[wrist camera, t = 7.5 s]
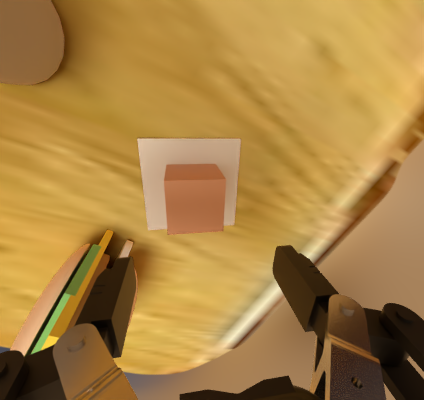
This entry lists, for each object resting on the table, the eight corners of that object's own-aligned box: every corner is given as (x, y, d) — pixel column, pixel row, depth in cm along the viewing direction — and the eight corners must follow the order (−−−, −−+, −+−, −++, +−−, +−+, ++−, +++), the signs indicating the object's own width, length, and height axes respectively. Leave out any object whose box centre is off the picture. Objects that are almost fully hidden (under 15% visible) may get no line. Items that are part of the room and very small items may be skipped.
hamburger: (115, 313, 29) (79, 438, 18) (49, 295, 26) (-41, 432, 15) (156, 249, 26) (142, 354, 15) (86, 220, 23) (4, 326, 12)
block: (166, 164, 21) (163, 181, 16) (215, 163, 22) (226, 179, 17) (169, 209, 23) (167, 234, 19) (214, 207, 24) (223, 231, 19)
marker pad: (138, 137, 20) (137, 138, 20) (239, 138, 22) (240, 138, 21) (148, 227, 24) (148, 230, 24) (233, 222, 26) (234, 224, 25)
